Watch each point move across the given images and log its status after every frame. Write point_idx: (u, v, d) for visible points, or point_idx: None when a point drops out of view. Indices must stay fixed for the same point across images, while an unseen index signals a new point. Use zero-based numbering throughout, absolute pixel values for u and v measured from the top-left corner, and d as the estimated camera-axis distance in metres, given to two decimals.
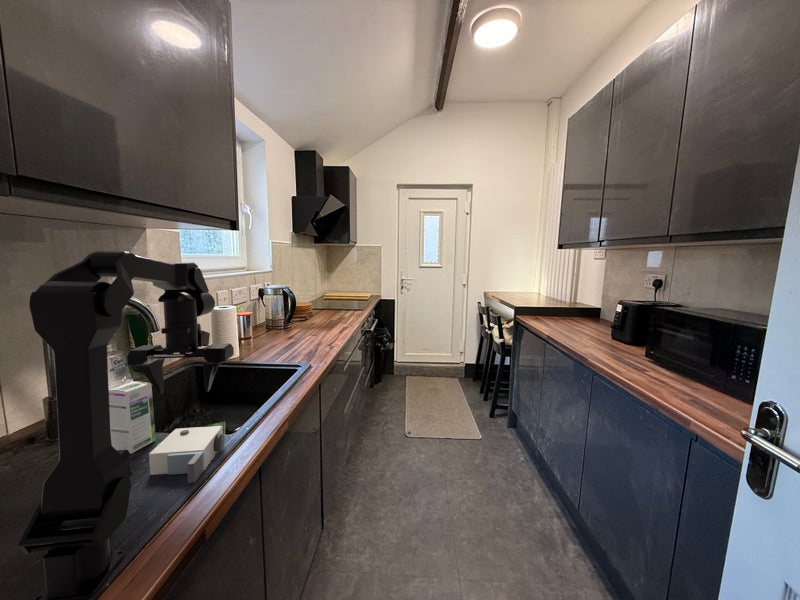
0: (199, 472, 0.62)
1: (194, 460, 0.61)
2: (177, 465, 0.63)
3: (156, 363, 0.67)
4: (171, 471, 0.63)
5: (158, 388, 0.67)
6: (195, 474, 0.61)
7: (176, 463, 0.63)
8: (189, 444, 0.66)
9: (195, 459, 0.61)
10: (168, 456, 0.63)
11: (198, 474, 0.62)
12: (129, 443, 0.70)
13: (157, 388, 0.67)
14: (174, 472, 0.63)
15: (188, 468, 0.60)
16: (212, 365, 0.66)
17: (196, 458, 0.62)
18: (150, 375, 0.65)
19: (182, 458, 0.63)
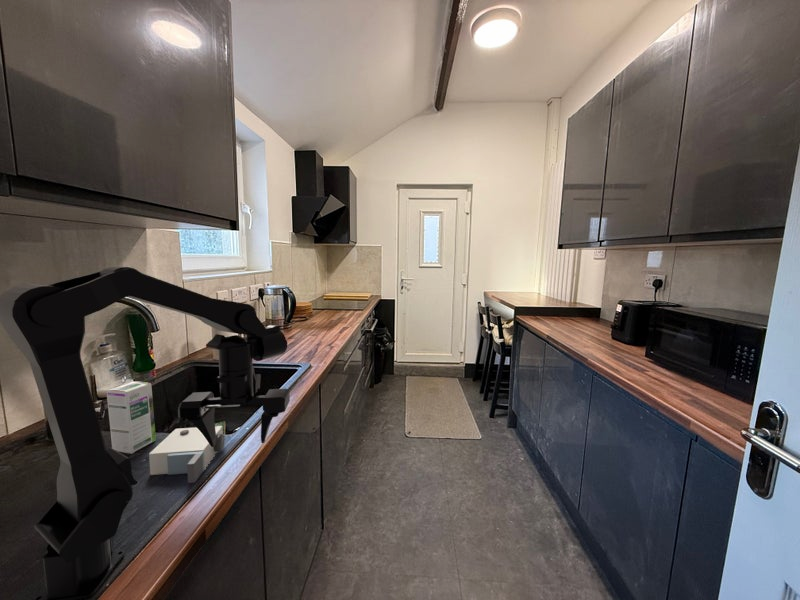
0: (199, 472, 0.62)
1: (194, 460, 0.61)
2: (177, 465, 0.63)
3: (208, 413, 0.61)
4: (171, 471, 0.63)
5: (211, 441, 0.60)
6: (195, 474, 0.61)
7: (176, 463, 0.63)
8: (189, 444, 0.66)
9: (195, 459, 0.61)
10: (168, 456, 0.63)
11: (198, 474, 0.62)
12: (129, 443, 0.70)
13: (209, 441, 0.61)
14: (174, 472, 0.63)
15: (188, 468, 0.60)
16: (271, 416, 0.60)
17: (196, 458, 0.62)
18: (204, 428, 0.59)
19: (182, 458, 0.63)
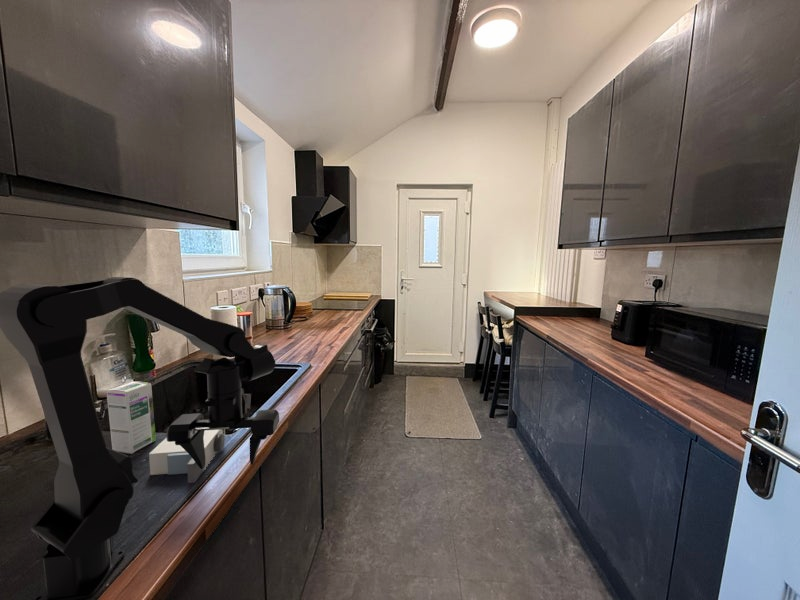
0: (199, 472, 0.62)
1: None
2: (177, 465, 0.63)
3: (198, 435, 0.61)
4: (170, 471, 0.63)
5: (200, 463, 0.61)
6: (195, 474, 0.61)
7: (176, 463, 0.63)
8: None
9: None
10: (168, 456, 0.63)
11: (198, 474, 0.62)
12: (129, 443, 0.70)
13: (199, 463, 0.61)
14: (174, 472, 0.63)
15: (188, 468, 0.60)
16: (259, 439, 0.60)
17: None
18: (193, 451, 0.59)
19: (181, 458, 0.63)
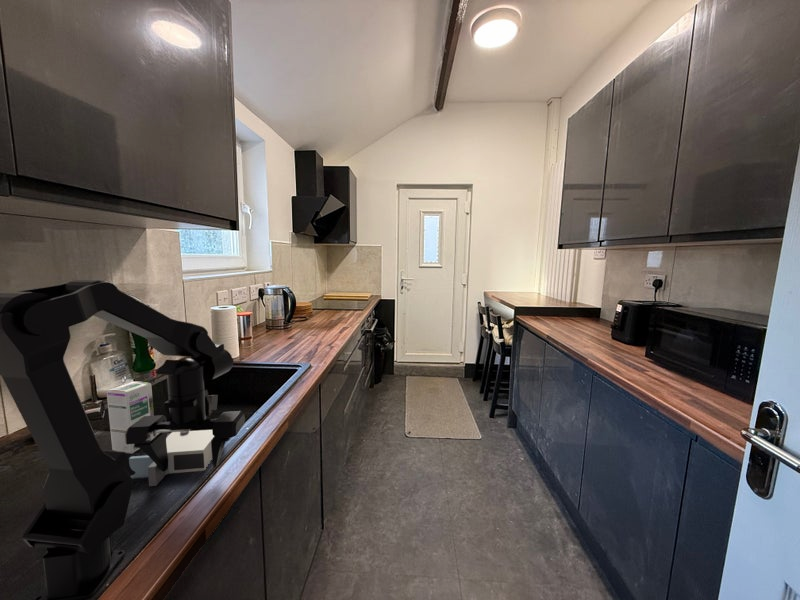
0: (161, 475, 0.61)
1: None
2: (139, 468, 0.62)
3: (159, 438, 0.60)
4: None
5: (161, 466, 0.59)
6: (156, 477, 0.60)
7: (138, 466, 0.62)
8: (189, 444, 0.66)
9: None
10: (130, 459, 0.61)
11: (160, 477, 0.61)
12: None
13: (160, 466, 0.60)
14: (136, 475, 0.62)
15: (149, 471, 0.59)
16: (221, 441, 0.59)
17: None
18: (153, 454, 0.58)
19: (144, 461, 0.62)
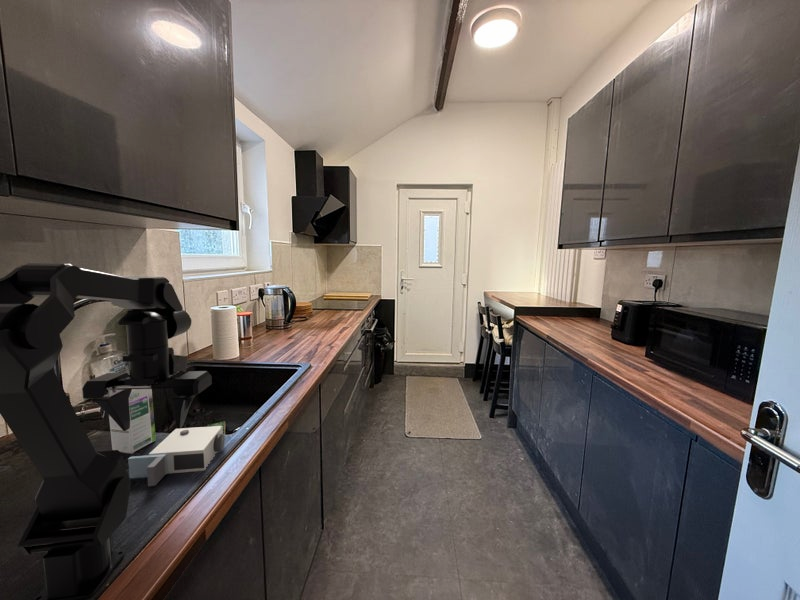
0: (160, 475, 0.61)
1: (154, 463, 0.60)
2: (139, 468, 0.62)
3: (120, 395, 0.57)
4: (132, 474, 0.62)
5: (121, 425, 0.57)
6: (155, 477, 0.60)
7: (137, 466, 0.62)
8: (189, 444, 0.66)
9: (156, 462, 0.60)
10: (129, 459, 0.61)
11: (159, 477, 0.61)
12: (129, 443, 0.70)
13: (120, 425, 0.57)
14: (136, 475, 0.62)
15: (148, 471, 0.59)
16: (182, 399, 0.56)
17: (157, 461, 0.61)
18: (111, 410, 0.55)
19: (143, 461, 0.62)
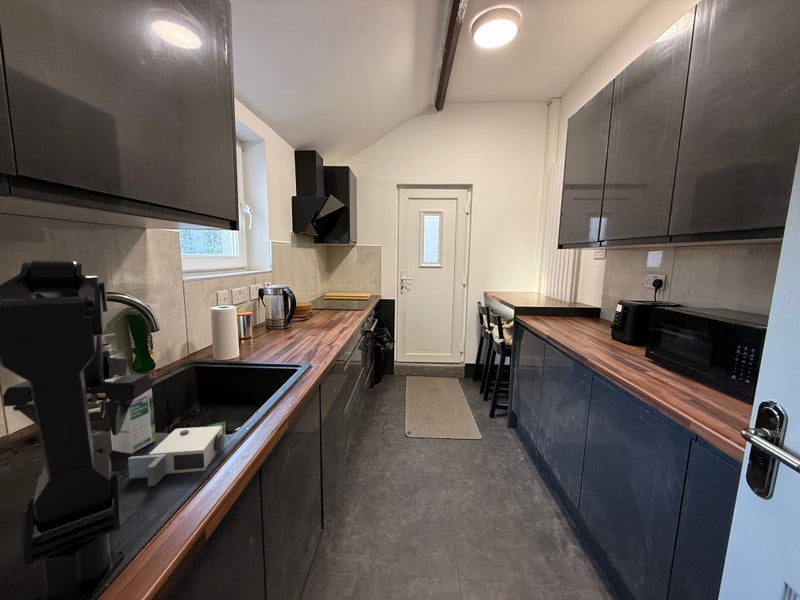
0: (160, 475, 0.61)
1: (154, 463, 0.60)
2: (139, 468, 0.62)
3: None
4: (132, 474, 0.62)
5: None
6: (155, 477, 0.60)
7: (137, 466, 0.62)
8: (189, 444, 0.66)
9: (156, 462, 0.60)
10: (129, 459, 0.61)
11: (159, 477, 0.61)
12: (129, 443, 0.70)
13: None
14: (136, 475, 0.62)
15: (148, 471, 0.59)
16: (116, 404, 0.53)
17: (157, 461, 0.61)
18: (37, 418, 0.52)
19: (143, 461, 0.62)
